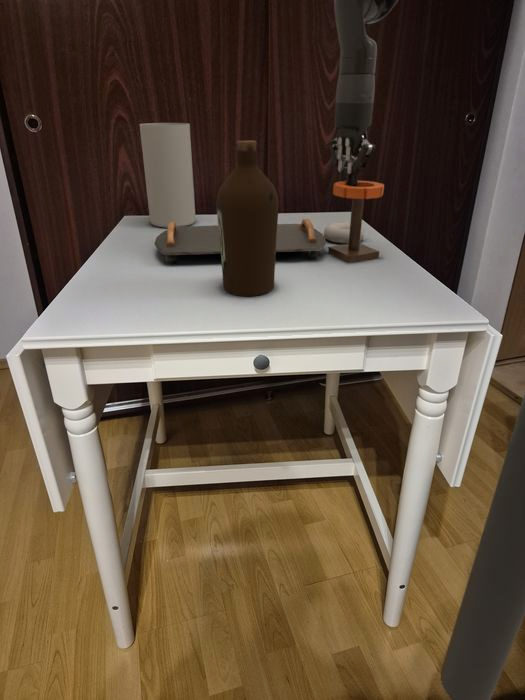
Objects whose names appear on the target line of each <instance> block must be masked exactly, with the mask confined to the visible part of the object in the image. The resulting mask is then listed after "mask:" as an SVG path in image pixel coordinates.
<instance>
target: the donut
mask: <svg viewBox="0 0 525 700" xmlns="http://www.w3.org/2000/svg"><path fill="white" fill-rule="evenodd" d="M349 233H350V222H333V223H330V224H327V225H326V226H325V227H324V229H323V235H324V237H325V240H327V241H329V242H332V243H335V244H349ZM365 235H366V234H365V229H364V228H363V227H362V226H361V235H360V241H362V240H363V239H364V237H365Z"/></svg>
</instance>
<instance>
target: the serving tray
mask: <svg viewBox="0 0 525 700" xmlns="http://www.w3.org/2000/svg"><path fill="white" fill-rule="evenodd" d="M326 244H327V241H326V238H325V236H324V233H322V232H321V231H319V230H317V229H316V228H315V227H314V225H313V222H312V221H311V220H310V219H308V218H303V219H302V220H301V223H277V238H276V253H294V252H295V253H297V252H300V253H301V252H308V253H309V254H308V255H309V258H310V260H313V261H315V260H316V261H317V260H318V258H319V256H320V252H321V251H322V250H324V248H325V246H326ZM154 246H155V248H156V250H158V251H159V252H160V253H161V254H162V255H165V262H167V264H169V265H173V264H175V262H176V256H187V255H189V256H192V255H193V256H194V255H221V250H220V238H219V228H218V225H215V224H214V225H188V226H179V227H176V223H175V222H170V223H169V225H168V228H167V229H166V230H164V231H162V232H160V233H159V234H158V235H157V236H156V238H155V241H154Z"/></svg>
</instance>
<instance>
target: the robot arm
mask: <svg viewBox="0 0 525 700" xmlns="http://www.w3.org/2000/svg"><path fill="white" fill-rule="evenodd" d="M398 2H399V0H334V1H333V13H334V21H335V29H336V35H337V41H338V46H339V59H338V76H337V83H336V88H335V103H334V119H333V125H334V127H336V128H337V132H336V137H335V138H334V139H330V140H328V148H329V153H330V156H331V157H330V158H331V161H332V165H333V168H335V169H337V171H338V173H339V177H338V178H339V179H338V182H339V181H347V182H346V183H347V186H352V187H357V181H359V174H360V173H361V172H365V171H366V170H367V168H368V165H369V163H370V161H371V159H372V156H373V155H374V152H375V150H376V144H375V143H371V142H369V140H368V138H369V136H368V128H370V127H371V126H372V121H373V114H374V113H373V111H374V102H375V92H376V80H375V79H376V77H375V76H376V75H375V74H376V68H377V67H376V66H377V56H378V44H377V42H376V41H375V40H374V39H373V38H371V37H370V36H368V34H367V32H366V31H367V30H366V26H365V25H372V24H376V23H379V21H381V20H383V19H384V18H385V17H387V16H388V15H389V14H390V13H391V11H392V10H393V8H394V7H396V4H397V3H398Z"/></svg>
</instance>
